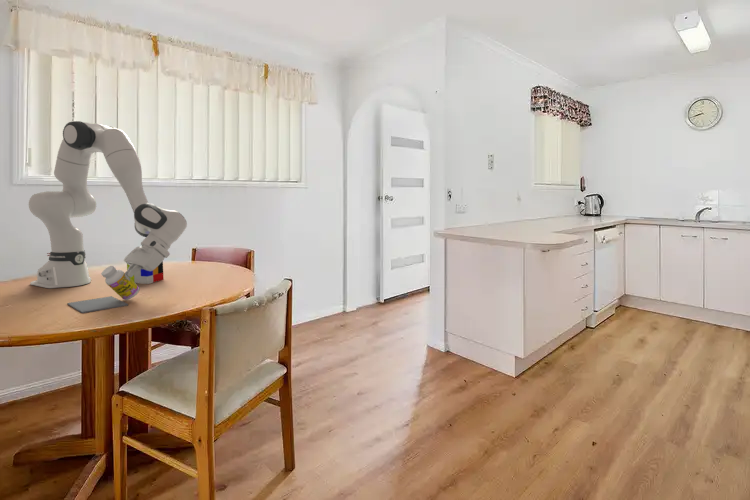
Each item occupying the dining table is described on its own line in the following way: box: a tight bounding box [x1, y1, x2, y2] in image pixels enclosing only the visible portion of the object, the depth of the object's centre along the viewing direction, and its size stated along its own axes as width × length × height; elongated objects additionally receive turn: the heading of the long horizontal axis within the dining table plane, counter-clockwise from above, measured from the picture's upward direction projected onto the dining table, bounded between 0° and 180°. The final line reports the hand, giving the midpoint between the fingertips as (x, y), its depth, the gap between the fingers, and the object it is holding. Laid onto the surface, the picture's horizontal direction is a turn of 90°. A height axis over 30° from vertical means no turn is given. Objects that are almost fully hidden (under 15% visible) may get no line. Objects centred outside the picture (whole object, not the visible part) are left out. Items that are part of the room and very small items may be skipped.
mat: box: [67, 295, 129, 314], centre depth 153 cm, size 14×16×1 cm
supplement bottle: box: [100, 265, 140, 301], centre depth 157 cm, size 7×7×13 cm
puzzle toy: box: [126, 260, 165, 285], centre depth 192 cm, size 10×10×10 cm
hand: (127, 275), depth 159 cm, fingers closed, pressing on supplement bottle
